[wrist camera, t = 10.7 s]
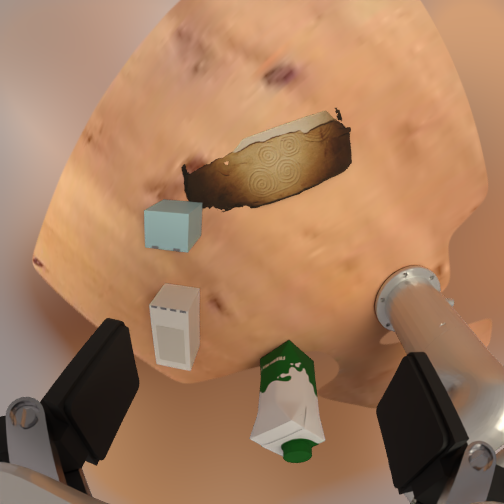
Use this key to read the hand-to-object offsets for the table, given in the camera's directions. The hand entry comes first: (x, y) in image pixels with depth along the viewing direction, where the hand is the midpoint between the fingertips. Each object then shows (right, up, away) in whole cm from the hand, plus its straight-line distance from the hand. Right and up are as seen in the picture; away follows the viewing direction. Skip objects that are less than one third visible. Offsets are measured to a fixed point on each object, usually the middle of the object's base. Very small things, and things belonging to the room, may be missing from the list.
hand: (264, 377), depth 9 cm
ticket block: (-12, -7, +40) cm, 42 cm away
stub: (-11, +9, +33) cm, 36 cm away
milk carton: (+6, -16, +42) cm, 45 cm away
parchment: (+2, +16, +30) cm, 34 cm away
